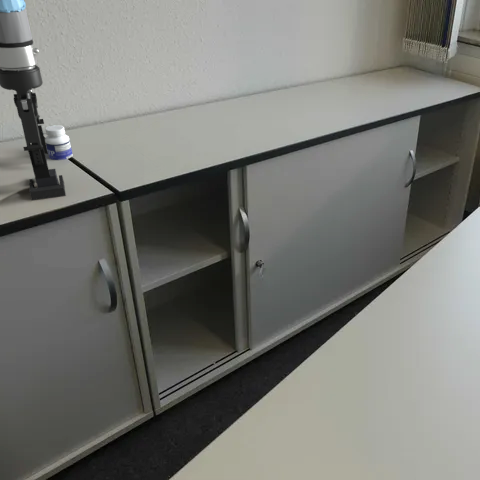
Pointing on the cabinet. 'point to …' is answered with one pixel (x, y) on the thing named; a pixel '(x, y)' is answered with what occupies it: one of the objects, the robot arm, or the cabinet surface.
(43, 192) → the dark grey u-shaped piece
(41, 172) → the robot arm
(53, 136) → the pill bottle
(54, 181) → the pad block
